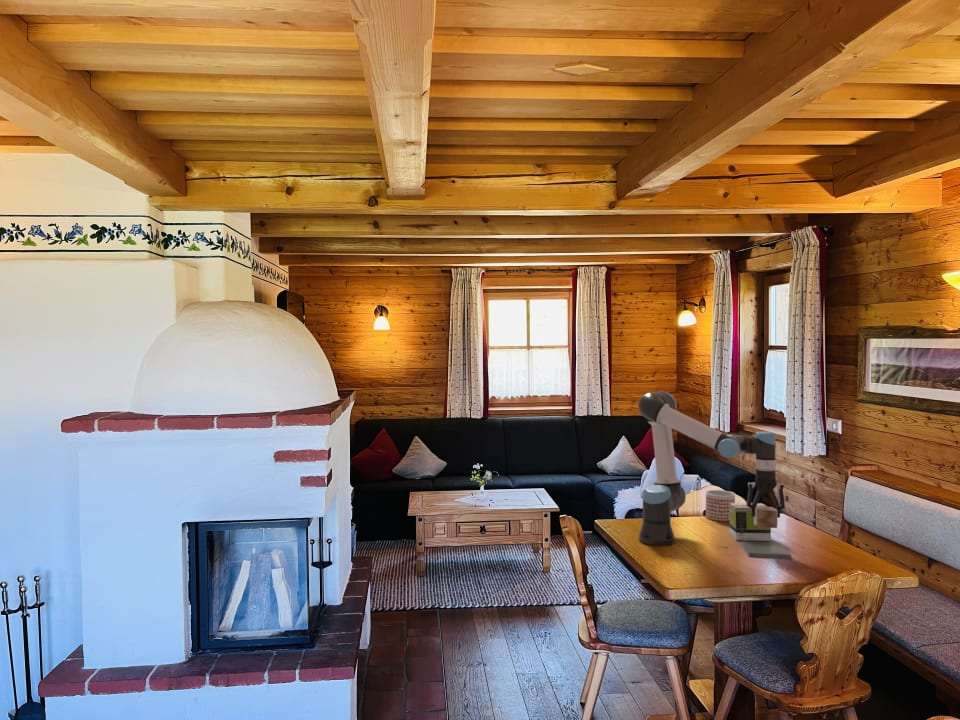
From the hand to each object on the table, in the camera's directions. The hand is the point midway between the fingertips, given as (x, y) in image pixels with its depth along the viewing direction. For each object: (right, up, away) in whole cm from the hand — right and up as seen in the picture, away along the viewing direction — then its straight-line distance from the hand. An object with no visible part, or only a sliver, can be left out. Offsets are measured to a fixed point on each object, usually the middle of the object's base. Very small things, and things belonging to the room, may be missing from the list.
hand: (765, 524), depth 269 cm
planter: (+1, -11, +55) cm, 56 cm away
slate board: (0, -11, 0) cm, 11 cm away
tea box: (+2, -11, +20) cm, 23 cm away
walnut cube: (0, 0, 0) cm, 0 cm away
